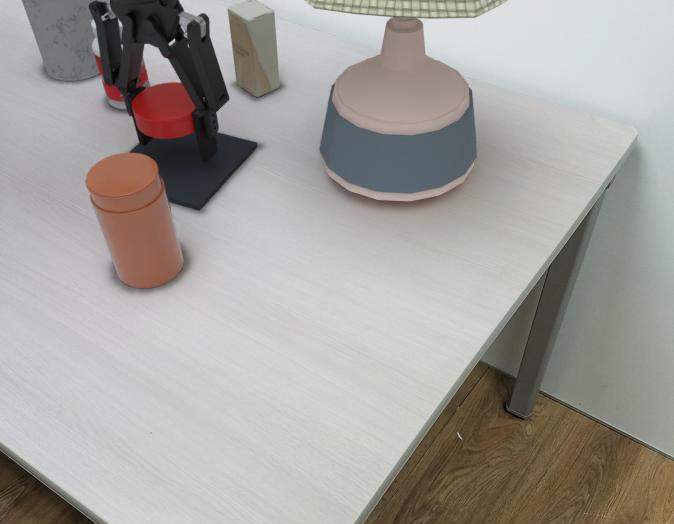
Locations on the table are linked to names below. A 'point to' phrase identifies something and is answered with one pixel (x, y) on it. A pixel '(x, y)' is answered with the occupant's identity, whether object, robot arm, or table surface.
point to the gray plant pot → (64, 37)
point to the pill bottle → (112, 92)
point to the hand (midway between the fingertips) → (178, 147)
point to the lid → (164, 111)
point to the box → (254, 46)
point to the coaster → (195, 166)
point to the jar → (135, 219)
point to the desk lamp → (401, 108)
